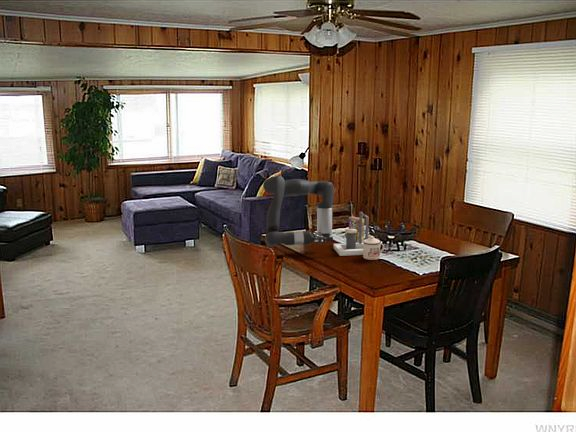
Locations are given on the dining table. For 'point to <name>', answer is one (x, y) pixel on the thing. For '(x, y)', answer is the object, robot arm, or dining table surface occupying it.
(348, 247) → the cord spool
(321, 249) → the dining table surface
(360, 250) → the white stand with posts
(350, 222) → the candy box
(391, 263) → the dining table surface
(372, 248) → the teacup with lid
